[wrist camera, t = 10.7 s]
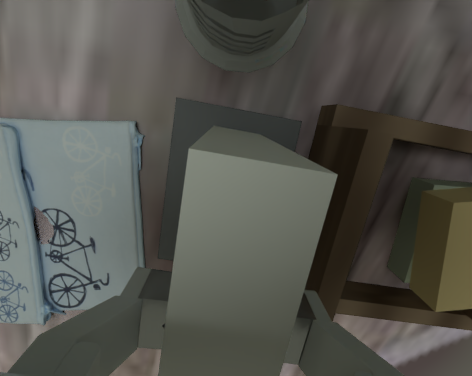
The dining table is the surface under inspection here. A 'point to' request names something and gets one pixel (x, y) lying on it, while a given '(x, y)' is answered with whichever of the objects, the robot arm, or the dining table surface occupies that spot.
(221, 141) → the pale grey rectangular block
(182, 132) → the pad
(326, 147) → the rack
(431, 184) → the offcut lower
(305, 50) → the dining table surface
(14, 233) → the light flat printed piece
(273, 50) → the french press
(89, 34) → the dining table surface
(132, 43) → the dining table surface
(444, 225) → the offcut upper
